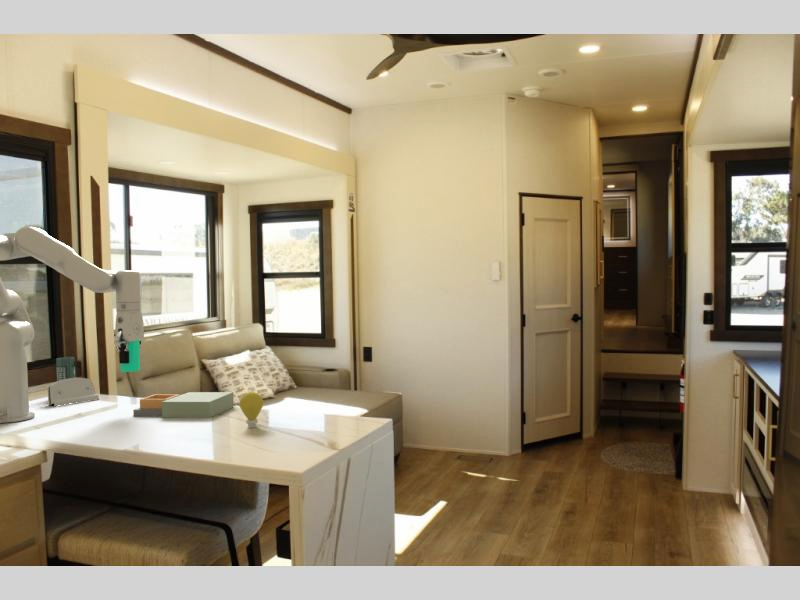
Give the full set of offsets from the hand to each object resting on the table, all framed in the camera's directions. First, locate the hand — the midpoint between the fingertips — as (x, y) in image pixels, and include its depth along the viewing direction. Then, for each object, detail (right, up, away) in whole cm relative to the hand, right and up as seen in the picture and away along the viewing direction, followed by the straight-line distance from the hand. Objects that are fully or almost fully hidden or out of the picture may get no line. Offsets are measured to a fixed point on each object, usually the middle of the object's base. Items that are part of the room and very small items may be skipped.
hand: (129, 361), depth 218 cm
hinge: (-30, -17, +23) cm, 42 cm away
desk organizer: (+19, -16, -2) cm, 25 cm away
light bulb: (+47, -16, -28) cm, 57 cm away
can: (-39, -17, +36) cm, 56 cm away
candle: (0, -3, 0) cm, 3 cm away
